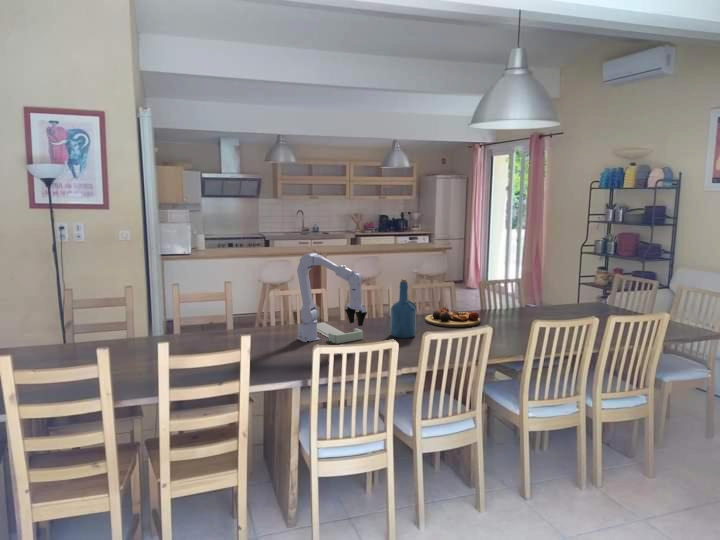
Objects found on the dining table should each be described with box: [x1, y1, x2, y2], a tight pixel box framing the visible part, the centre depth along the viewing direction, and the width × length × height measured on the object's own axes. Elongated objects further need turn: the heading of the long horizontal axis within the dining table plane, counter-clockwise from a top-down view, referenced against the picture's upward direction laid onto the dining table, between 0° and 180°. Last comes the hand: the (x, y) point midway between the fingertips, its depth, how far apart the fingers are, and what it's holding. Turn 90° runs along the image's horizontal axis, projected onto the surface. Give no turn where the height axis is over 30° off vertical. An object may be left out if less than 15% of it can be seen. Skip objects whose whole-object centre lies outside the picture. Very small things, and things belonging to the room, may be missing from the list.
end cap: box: [328, 328, 364, 344], centre depth 273 cm, size 17×7×4 cm, turn 125°
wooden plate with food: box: [424, 306, 481, 328], centre depth 314 cm, size 32×32×8 cm
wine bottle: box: [389, 278, 417, 339], centre depth 279 cm, size 14×13×30 cm
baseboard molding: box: [317, 321, 345, 339], centre depth 290 cm, size 31×3×12 cm
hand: (356, 324), depth 265 cm, fingers open, 7 cm apart
